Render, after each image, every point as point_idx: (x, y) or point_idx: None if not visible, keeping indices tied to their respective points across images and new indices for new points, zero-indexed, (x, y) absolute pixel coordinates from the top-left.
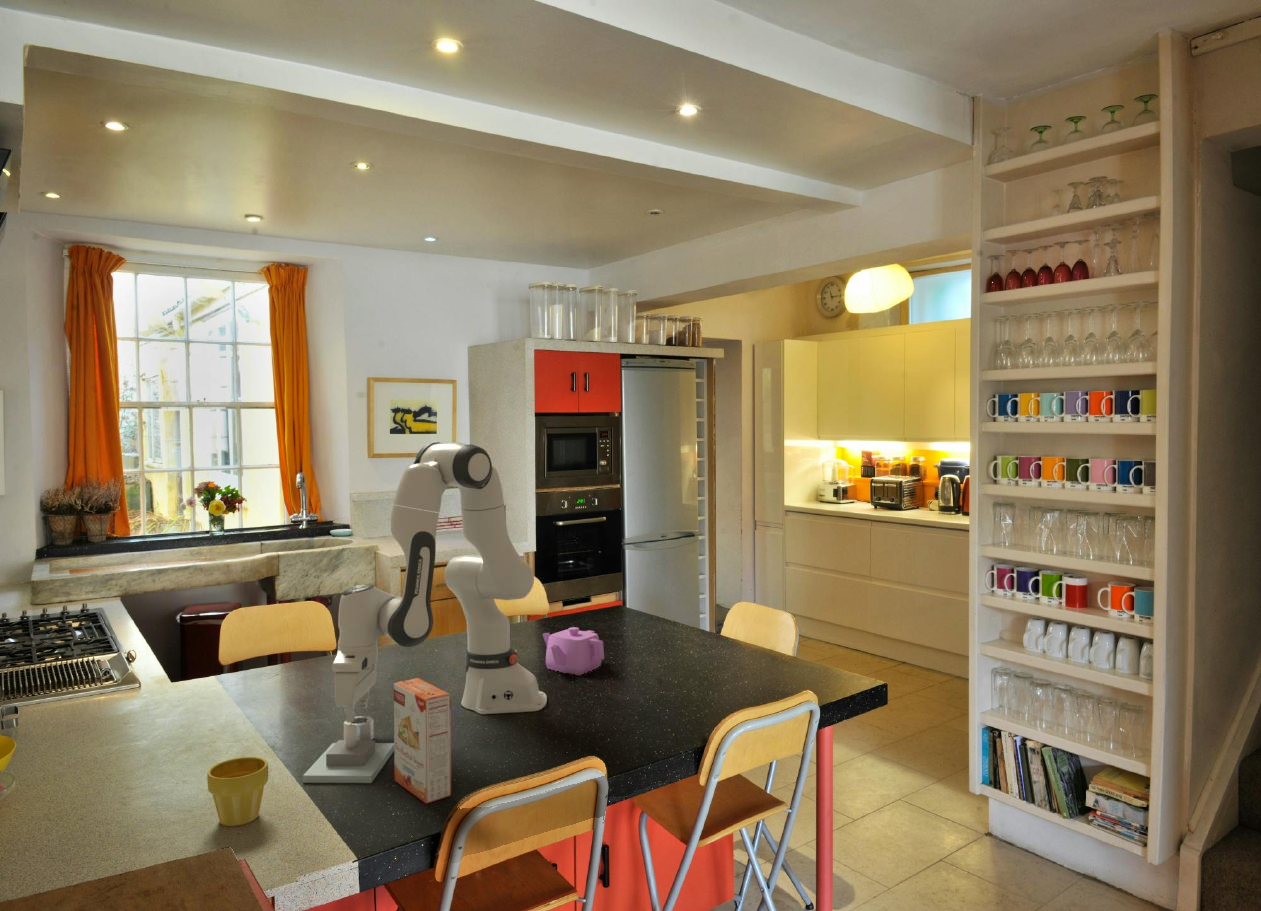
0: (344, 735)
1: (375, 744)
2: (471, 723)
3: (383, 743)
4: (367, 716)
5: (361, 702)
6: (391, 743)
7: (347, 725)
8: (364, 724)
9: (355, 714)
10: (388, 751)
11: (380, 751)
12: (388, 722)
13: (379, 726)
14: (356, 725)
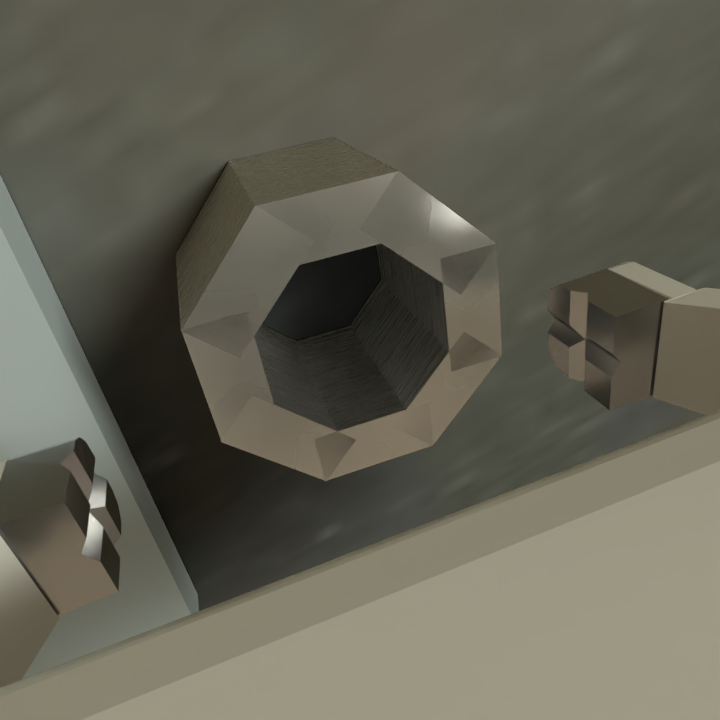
0: (226, 190)
1: (123, 551)
2: None
3: (165, 583)
4: (493, 353)
5: (610, 353)
6: None
7: (200, 292)
8: (268, 456)
9: (115, 571)
10: None
11: None
12: None
13: (600, 264)
14: (209, 407)
